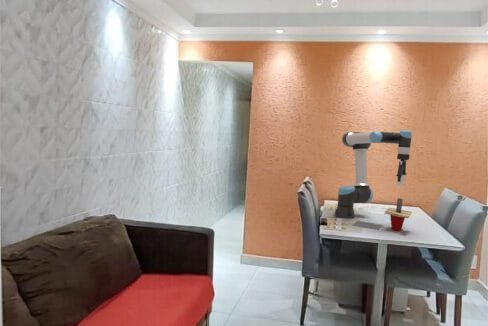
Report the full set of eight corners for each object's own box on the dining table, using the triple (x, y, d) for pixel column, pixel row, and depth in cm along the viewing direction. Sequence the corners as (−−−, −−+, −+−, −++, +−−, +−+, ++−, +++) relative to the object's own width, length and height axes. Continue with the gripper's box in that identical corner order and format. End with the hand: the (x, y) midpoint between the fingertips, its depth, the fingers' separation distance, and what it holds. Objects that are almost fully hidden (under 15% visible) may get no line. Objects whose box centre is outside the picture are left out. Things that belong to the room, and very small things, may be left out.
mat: (357, 221, 304) (357, 220, 304) (383, 225, 296) (383, 225, 296) (351, 226, 288) (351, 225, 288) (378, 230, 280) (378, 230, 280)
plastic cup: (393, 233, 277) (395, 215, 275) (384, 228, 287) (386, 211, 286) (408, 233, 279) (410, 215, 278) (399, 228, 289) (400, 211, 288)
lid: (388, 208, 292) (390, 194, 290) (411, 213, 285) (413, 198, 283) (384, 213, 279) (386, 198, 277) (408, 218, 272) (410, 203, 270)
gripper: (400, 152, 291) (397, 182, 293) (394, 153, 269) (391, 186, 271) (412, 153, 288) (409, 184, 290) (406, 154, 266) (403, 188, 268)
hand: (400, 185), depth 281 cm, fingers open, 13 cm apart
